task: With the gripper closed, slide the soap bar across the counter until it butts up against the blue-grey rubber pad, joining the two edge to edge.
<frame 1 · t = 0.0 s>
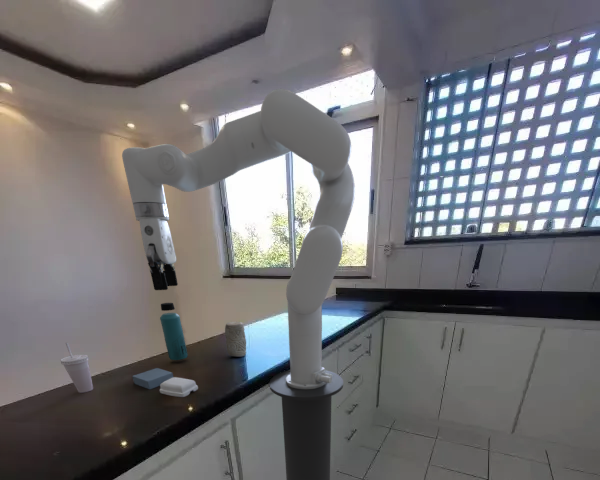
hand: (166, 287, 83), 26 cm above the table, tool pointing down, fingers open, 9 cm apart
beverage bottle: (179, 361, 110), on the table
soap: (179, 391, 87), on the table
rubber pad: (154, 382, 93), on the table
smoothie: (86, 390, 89), on the table
carving: (237, 356, 113), on the table
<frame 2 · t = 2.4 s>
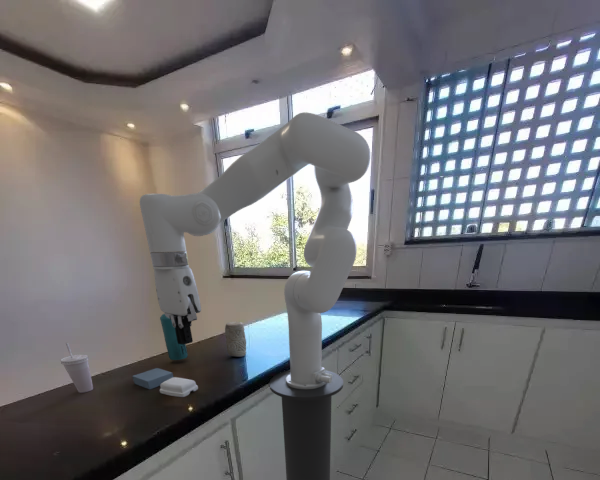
hand: (185, 343, 76), 15 cm above the table, tool pointing down, fingers closed
nothing on the table moved.
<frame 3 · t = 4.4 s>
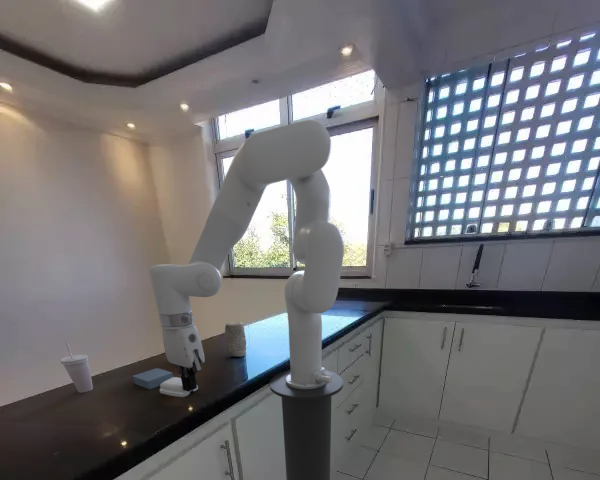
hand: (190, 389, 83), 2 cm above the table, tool pointing down, fingers closed
soap: (179, 391, 87), on the table, touching gripper
everything else where it was.
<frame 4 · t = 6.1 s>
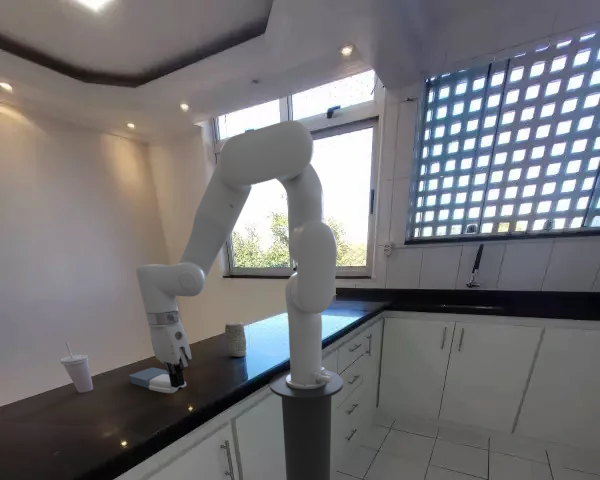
hand: (178, 385, 85), 2 cm above the table, tool pointing down, fingers closed
soap: (168, 387, 89), on the table, touching gripper
rubber pad: (151, 380, 94), on the table
everything else where it was.
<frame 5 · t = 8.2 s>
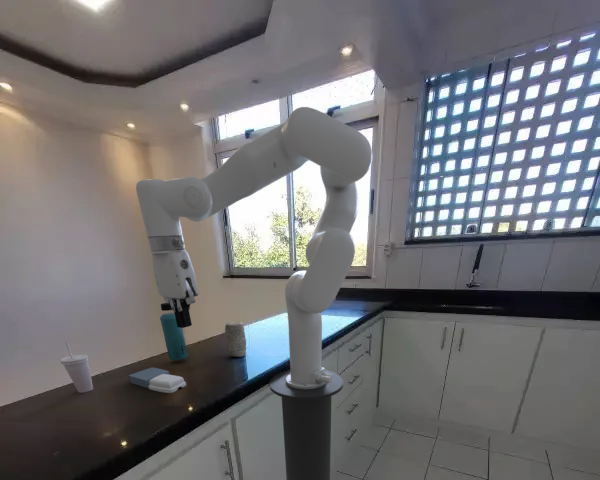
hand: (184, 326, 79), 18 cm above the table, tool pointing down, fingers closed
soap: (168, 387, 89), on the table
everything else where it was.
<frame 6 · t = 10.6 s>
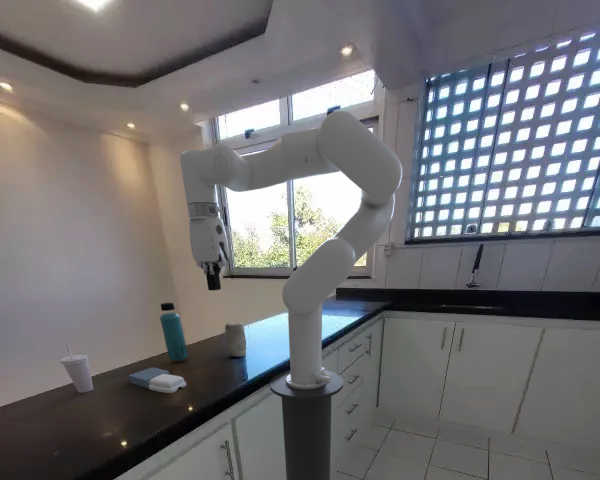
hand: (214, 289, 86), 25 cm above the table, tool pointing down, fingers closed
nothing on the table moved.
at the end: soap 8.6 cm from the rubber pad (horizontally); soap tilted 0°; rubber pad moved 1.8 cm from its start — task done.
